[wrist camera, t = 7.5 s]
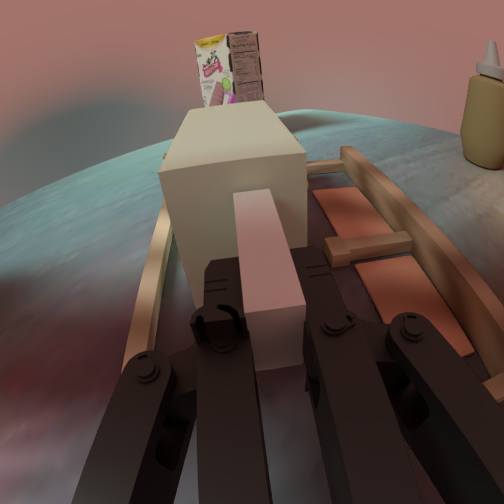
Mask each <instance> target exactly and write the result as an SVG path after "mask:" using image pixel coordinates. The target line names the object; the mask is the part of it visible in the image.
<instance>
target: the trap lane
mask: <svg viewBox="0 0 504 504" xmlns="http://www.w3.org/2000/svg"><path fill="white" fill-rule="evenodd" d="M294 138H295V139H296V140H297V141H298V139H297V138H296V137H295V136H294ZM166 155H167V153H165V154H164V156H163V159H165V157H166ZM332 172H345V173H346V175H347V176H348V177H349V178H350V179H351V180H352V181H353V182H354V183H355V185H356V186H357V187H358V188H359V189H360V190H361V191H362V192H363V194H364V195H365V196H366V197H367V198H368V199H369V201H370V202H371V203H372V204H373V205H374V206H375V208H376V209H377V210H378V211H379V212H380V214H381V215H382V216H383V217H384V219H385V220H386V221H387V222H388V223H389V225H390V226H391V227H392V228H393V230H394V231H395V232H393V230H392V229H391V228H390V227H389V225H388V224H387V223H386V222H385V220H384V219H383V218H382V217H381V215H380V214H379V213H378V212H377V211H376V209H375V208H374V207H373V206H372V205H371V203H370V202H369V201H368V200H367V199H366V197H365V196H364V195H363V194H362V193H361V192H360V191H359V189H358V188H357V187H356V186H355V187H343V188H332V189H322V190H312V193H313V194H314V196H315V198H316V199H317V201H318V203H319V204H320V206H321V208H322V210H323V211H324V213H325V215H326V216H327V218H328V220H329V222H330V223H331V225H332V227H333V229H334V230H335V232H336V234H337V236H336V237H328V238H324V252H325V254H326V256H327V258H328V260H329V262H330V265H331V267H332V268H336V267H342V266H348V265H349V263H350V261H355V260H361V259H367V258H374V257H380V256H386V255H392V254H399V253H405V252H411V253H412V254H413V256H414V257H415V258H416V260H417V261H418V262H419V264H420V265H421V266H422V268H423V269H424V270H425V272H426V273H427V275H428V276H429V277H430V279H431V280H432V282H433V283H434V285H435V286H436V287H437V289H438V290H439V292H440V293H441V295H442V296H443V298H444V299H445V301H446V302H447V304H448V305H449V307H450V308H451V310H452V311H453V313H454V314H455V316H456V318H457V319H458V321H459V322H460V324H461V326H462V327H463V329H464V330H465V332H466V334H467V335H468V337H469V339H470V340H471V342H472V344H473V345H474V347H475V349H476V351H477V352H478V354H479V356H480V358H481V359H482V361H483V363H484V365H485V366H486V368H487V370H488V372H489V374H490V376H491V379H489V380H487V381H485V382H483V384H484V385H485V387H486V388H487V389H488V391H489V392H490V393H491V394H492V396H493V397H494V398H495V400H496V401H497V402H498V403H500V402H501V401H503V400H504V306H503V305H502V304H501V302H500V301H499V300H498V298H497V297H496V296H495V294H494V293H493V292H492V290H491V289H490V288H489V286H488V285H487V284H486V283H485V281H484V280H483V279H482V278H481V276H480V275H479V274H478V273H477V271H476V270H475V269H474V268H473V267H472V265H471V264H470V263H469V262H468V261H467V259H466V258H465V257H464V256H463V255H462V254H461V252H460V251H459V250H458V249H457V248H456V247H455V246H454V244H453V243H452V242H451V241H450V240H449V239H448V238H447V237H446V236H445V235H444V233H443V232H442V231H441V230H440V229H439V228H438V227H437V226H436V225H435V224H434V223H433V222H432V221H431V220H430V219H429V218H428V217H427V216H426V214H425V213H424V212H423V211H422V210H421V209H420V208H419V207H418V206H417V205H416V204H415V203H414V202H413V201H412V200H410V199H409V198H408V197H407V196H406V195H405V194H404V193H403V192H402V191H401V190H400V189H399V188H398V187H397V186H396V185H395V184H394V183H393V182H392V181H390V180H389V179H388V178H387V177H386V176H385V175H384V174H383V173H382V172H381V171H379V170H378V169H377V168H376V167H375V166H374V165H373V164H371V163H370V162H369V161H368V160H367V159H366V158H364V157H363V156H362V155H361V154H360V153H359V152H357V151H356V150H355V149H354V148H353V147H351V146H340V159H335V160H322V161H310V162H307V175H309V174H320V173H332ZM307 192H309V182H308V180H307ZM172 236H173V229H172V226H171V222H170V218H169V214H168V210H167V207H166V203H165V199H164V201H163V205H162V208H161V211H160V214H159V217H158V221H157V224H156V228H155V231H154V234H153V238H152V241H151V245H150V248H149V252H148V256H147V259H146V263H145V267H144V271H143V275H142V279H141V283H140V287H139V291H138V295H137V299H136V303H135V308H134V312H133V316H132V321H131V326H130V330H129V335H128V340H127V345H126V350H125V355H124V360H123V366H122V371H123V369H124V367H125V365H126V364H127V362H128V361H129V359H131V358H132V357H133V356H135V355H136V354H138V353H140V352H143V351H151V350H154V346H155V339H156V331H157V324H158V317H159V311H160V304H161V298H162V292H163V286H164V280H165V274H166V268H167V263H168V257H169V252H170V247H171V242H172ZM413 256H412V255H408V256H402V257H396V258H390V259H384V260H378V261H372V262H366V263H359V264H355V266H354V267H355V269H356V270H357V272H358V274H359V276H360V278H361V280H362V282H363V284H364V286H365V288H366V290H367V292H368V293H369V295H370V297H371V299H372V301H373V303H374V305H375V307H376V309H377V311H378V313H379V315H380V318H381V320H382V322H383V323H386V324H390V323H391V321H392V319H393V318H394V317H395V316H397V315H398V314H400V313H404V312H415V313H418V314H420V315H423V316H424V317H425V318H427V319H428V320H429V321H430V322H431V323H432V324H433V325H434V326H435V327H436V328H437V330H438V331H439V332H440V333H441V334H442V335H443V336H444V338H445V339H446V340H447V341H448V342H449V343H450V344H451V346H452V347H453V348H454V349H455V350H456V351H457V353H458V354H459V355H460V356H461V357H462V358H463V357H465V356H468V355H470V354H473V353H474V352H475V350H474V349H473V347H472V345H471V344H470V342H469V340H468V338H467V337H466V335H465V333H464V332H463V330H462V329H461V327H460V325H459V324H458V322H457V321H456V319H455V317H454V316H453V314H452V313H451V311H450V310H449V308H448V306H447V305H446V303H445V302H444V300H443V299H442V297H441V296H440V294H439V293H438V292H437V290H436V289H435V287H434V286H433V284H432V283H431V281H430V280H429V278H428V277H427V276H426V274H425V273H424V271H423V270H422V269H421V267H420V266H419V265H418V263H417V262H416V260H415V259H414V258H413ZM121 373H122V372H121Z"/></svg>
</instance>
